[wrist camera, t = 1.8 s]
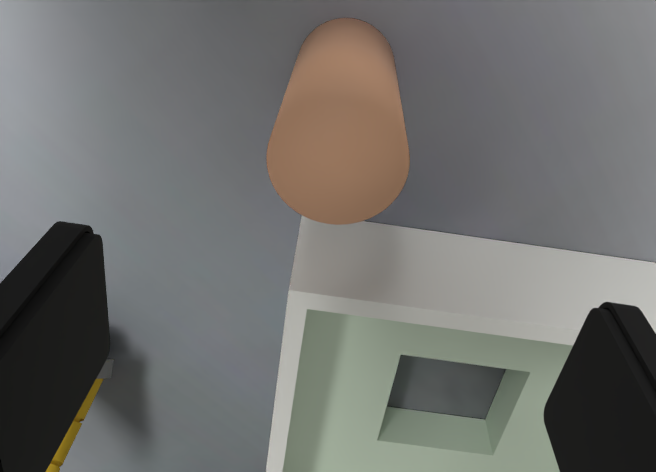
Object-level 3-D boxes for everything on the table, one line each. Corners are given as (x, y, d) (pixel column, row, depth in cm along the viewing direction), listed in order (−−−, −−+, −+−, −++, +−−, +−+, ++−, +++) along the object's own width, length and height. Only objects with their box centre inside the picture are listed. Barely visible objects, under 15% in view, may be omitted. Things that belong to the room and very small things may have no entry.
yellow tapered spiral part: (139, 307, 32) (119, 503, 30) (85, 308, 35) (64, 485, 33) (43, 298, 28) (13, 524, 26) (-9, 300, 31) (-38, 502, 29)
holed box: (302, 212, 28) (288, 290, 23) (673, 265, 28) (740, 352, 23) (270, 454, 37) (256, 547, 32) (547, 490, 38) (576, 587, 33)
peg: (302, 10, 23) (272, 83, 15) (403, 26, 23) (424, 105, 15) (292, 108, 25) (261, 214, 17) (384, 121, 25) (394, 233, 18)
